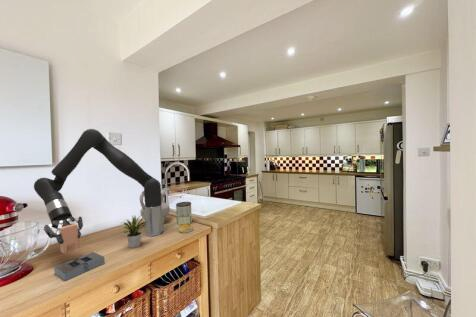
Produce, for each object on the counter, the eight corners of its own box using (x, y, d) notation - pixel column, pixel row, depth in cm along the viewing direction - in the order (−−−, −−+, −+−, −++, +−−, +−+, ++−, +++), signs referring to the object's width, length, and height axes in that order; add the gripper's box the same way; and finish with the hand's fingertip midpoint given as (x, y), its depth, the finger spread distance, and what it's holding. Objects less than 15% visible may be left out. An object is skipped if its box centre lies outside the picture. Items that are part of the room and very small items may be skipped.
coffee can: (174, 223, 139) (173, 203, 139) (188, 219, 146) (187, 200, 146) (180, 226, 131) (179, 205, 131) (194, 223, 138) (193, 203, 138)
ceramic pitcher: (156, 230, 129) (158, 192, 128) (130, 227, 132) (132, 190, 132) (174, 220, 150) (175, 187, 149) (151, 217, 154) (152, 185, 153)
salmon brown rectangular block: (75, 246, 93) (74, 223, 93) (78, 247, 91) (77, 224, 91) (60, 251, 88) (59, 227, 88) (63, 253, 87) (62, 228, 86)
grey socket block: (93, 258, 93) (93, 251, 93) (104, 263, 88) (104, 256, 88) (54, 274, 81) (54, 266, 81) (64, 281, 76) (64, 273, 76)
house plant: (133, 255, 95) (132, 221, 94) (111, 251, 99) (110, 219, 99) (154, 242, 108) (153, 212, 108) (134, 240, 112) (132, 211, 112)
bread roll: (185, 227, 130) (185, 221, 130) (195, 230, 125) (194, 223, 125) (175, 231, 123) (174, 225, 123) (185, 234, 118) (185, 227, 118)
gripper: (39, 210, 87) (51, 241, 81) (78, 202, 99) (91, 229, 94) (36, 220, 90) (47, 252, 84) (74, 211, 102) (87, 238, 96)
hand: (70, 240), depth 89 cm, fingers closed on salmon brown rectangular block, 5 cm apart
